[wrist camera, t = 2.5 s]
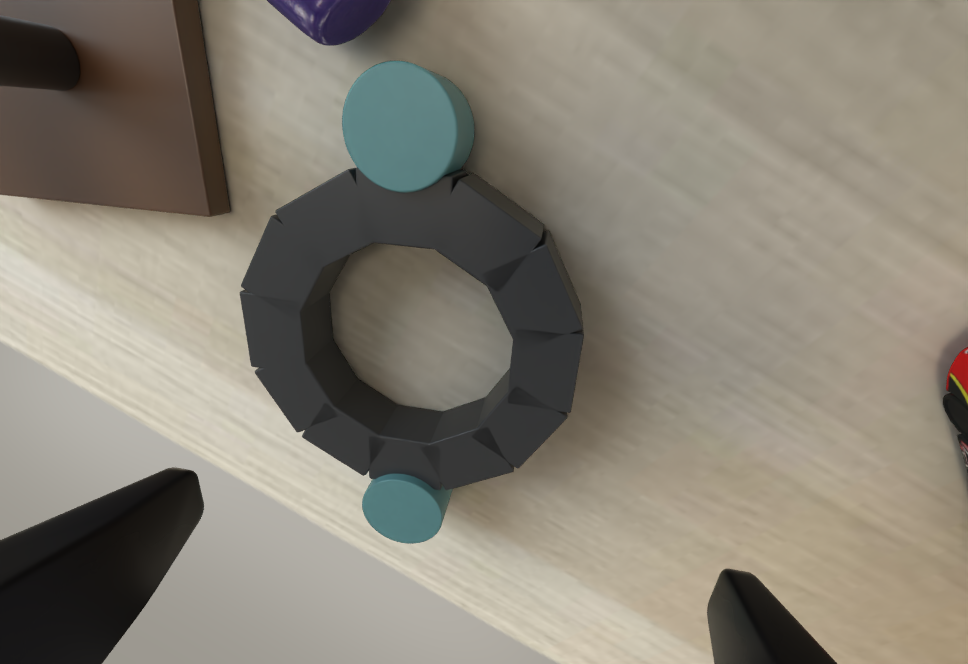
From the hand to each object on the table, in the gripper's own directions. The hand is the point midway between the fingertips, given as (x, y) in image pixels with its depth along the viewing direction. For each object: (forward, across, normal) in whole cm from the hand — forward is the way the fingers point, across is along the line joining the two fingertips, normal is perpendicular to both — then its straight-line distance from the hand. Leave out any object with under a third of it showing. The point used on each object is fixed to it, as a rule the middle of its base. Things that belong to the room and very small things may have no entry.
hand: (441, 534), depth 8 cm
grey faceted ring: (+12, +4, +2) cm, 12 cm away
